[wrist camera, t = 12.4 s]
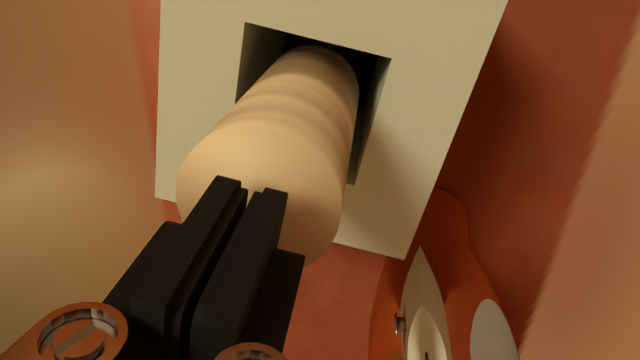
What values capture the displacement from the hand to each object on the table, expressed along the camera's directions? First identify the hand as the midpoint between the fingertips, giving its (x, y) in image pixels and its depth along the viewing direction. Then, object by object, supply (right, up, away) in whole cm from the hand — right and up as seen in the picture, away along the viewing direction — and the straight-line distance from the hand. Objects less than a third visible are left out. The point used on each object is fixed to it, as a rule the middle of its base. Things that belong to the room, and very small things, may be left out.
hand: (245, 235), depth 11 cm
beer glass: (+9, -2, +21) cm, 23 cm away
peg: (+1, +5, +9) cm, 11 cm away
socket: (+2, +9, +16) cm, 19 cm away
